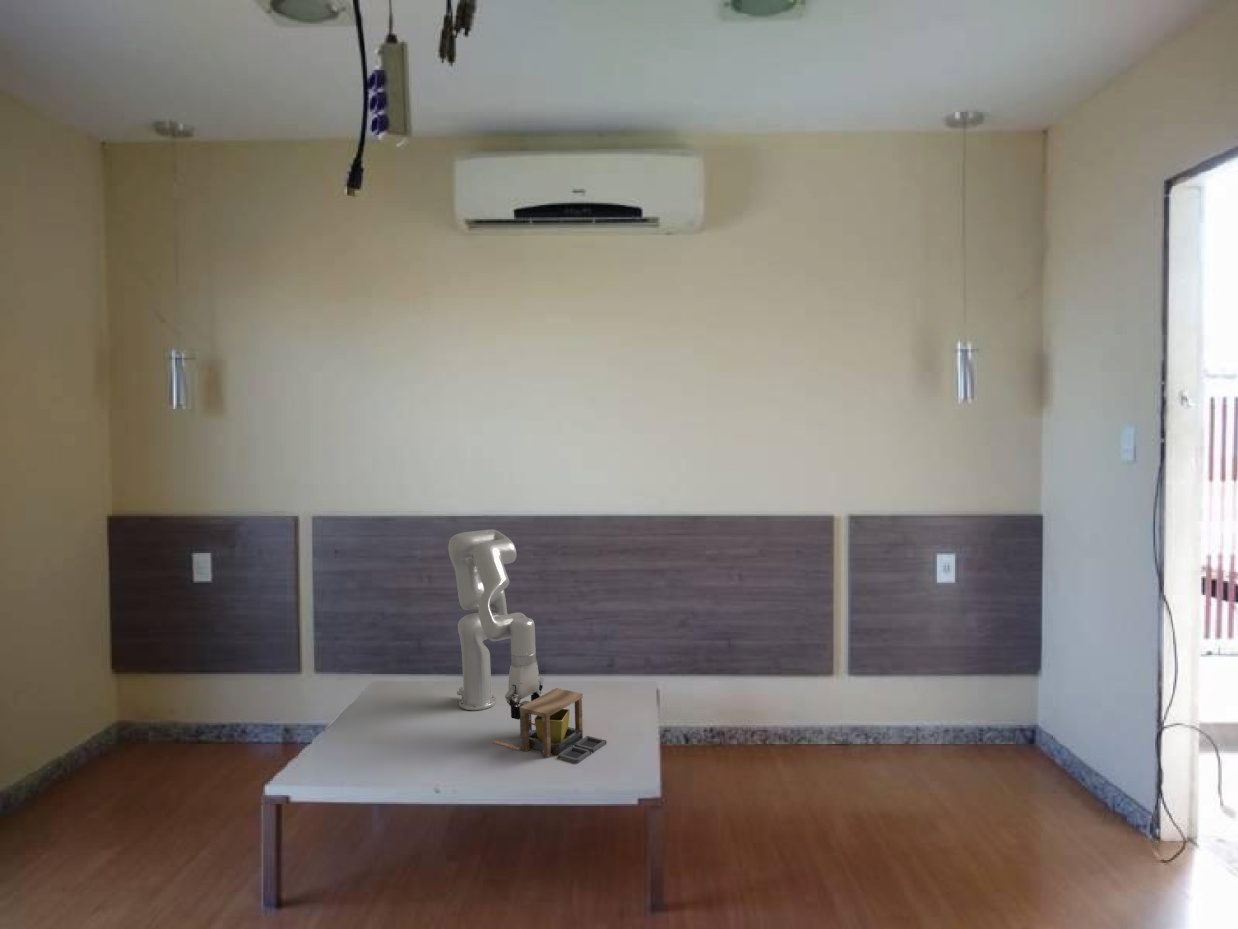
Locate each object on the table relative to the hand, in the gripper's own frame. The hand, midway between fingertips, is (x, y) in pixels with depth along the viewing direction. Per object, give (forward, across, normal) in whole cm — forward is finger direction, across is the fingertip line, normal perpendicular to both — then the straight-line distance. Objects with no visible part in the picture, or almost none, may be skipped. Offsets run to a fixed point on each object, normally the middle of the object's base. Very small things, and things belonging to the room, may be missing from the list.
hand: (526, 713), depth 234 cm
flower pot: (+8, 0, +10) cm, 13 cm away
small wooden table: (+7, 0, +10) cm, 13 cm away
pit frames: (+8, 0, +21) cm, 22 cm away
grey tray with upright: (+7, 0, +7) cm, 10 cm away
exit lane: (+7, 0, -1) cm, 7 cm away
